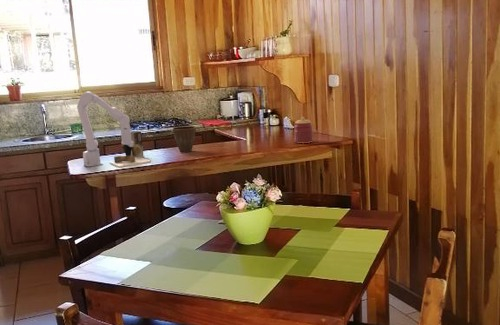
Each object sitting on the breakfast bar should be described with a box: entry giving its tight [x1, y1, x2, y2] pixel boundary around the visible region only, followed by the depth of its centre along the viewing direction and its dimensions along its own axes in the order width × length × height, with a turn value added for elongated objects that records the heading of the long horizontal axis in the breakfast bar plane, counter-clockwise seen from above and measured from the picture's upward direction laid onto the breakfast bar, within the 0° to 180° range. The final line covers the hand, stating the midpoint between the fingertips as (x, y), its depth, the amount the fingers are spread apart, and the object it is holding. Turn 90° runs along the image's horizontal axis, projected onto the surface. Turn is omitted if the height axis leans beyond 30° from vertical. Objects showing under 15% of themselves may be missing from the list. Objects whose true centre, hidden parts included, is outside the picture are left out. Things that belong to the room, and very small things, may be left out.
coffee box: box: [131, 130, 145, 158], centre depth 331 cm, size 9×6×16 cm
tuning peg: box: [113, 155, 135, 162], centre depth 311 cm, size 13×4×3 cm, turn 75°
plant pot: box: [172, 125, 196, 153], centre depth 341 cm, size 15×15×16 cm
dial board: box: [109, 156, 152, 168], centre depth 312 cm, size 20×16×1 cm
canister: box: [293, 116, 314, 143], centre depth 351 cm, size 13×13×18 cm
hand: (128, 157), depth 317 cm, fingers closed
